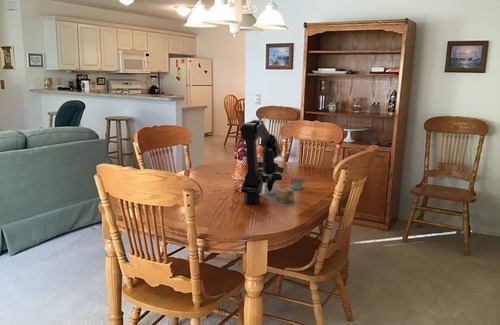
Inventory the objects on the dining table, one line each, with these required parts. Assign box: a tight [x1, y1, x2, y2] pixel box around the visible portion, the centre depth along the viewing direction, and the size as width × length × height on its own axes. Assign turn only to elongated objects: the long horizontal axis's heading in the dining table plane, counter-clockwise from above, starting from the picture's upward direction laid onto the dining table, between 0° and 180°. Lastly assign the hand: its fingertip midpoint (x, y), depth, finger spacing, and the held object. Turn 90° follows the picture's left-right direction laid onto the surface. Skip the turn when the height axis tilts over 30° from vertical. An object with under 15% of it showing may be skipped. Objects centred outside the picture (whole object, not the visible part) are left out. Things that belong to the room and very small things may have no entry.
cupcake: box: [288, 168, 306, 191], centre depth 229 cm, size 9×8×12 cm
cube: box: [276, 186, 295, 204], centre depth 203 cm, size 6×6×6 cm
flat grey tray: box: [259, 182, 300, 207], centre depth 210 cm, size 11×25×6 cm, turn 27°
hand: (267, 190), depth 218 cm, fingers closed on flat grey tray, 4 cm apart
